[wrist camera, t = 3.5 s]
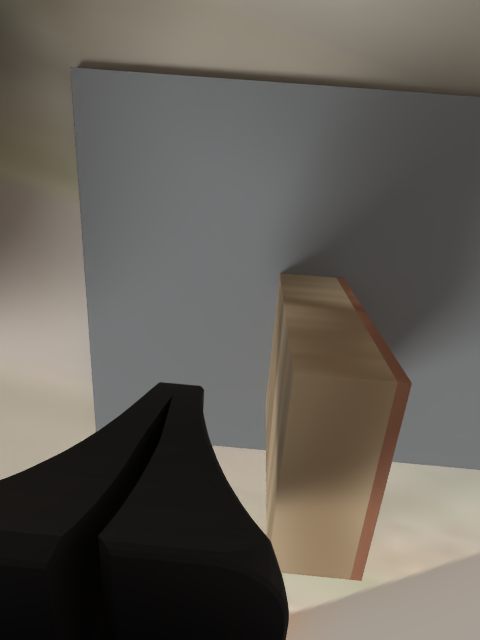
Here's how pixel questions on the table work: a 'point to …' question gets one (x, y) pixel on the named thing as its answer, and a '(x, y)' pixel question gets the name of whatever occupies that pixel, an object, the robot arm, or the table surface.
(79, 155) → the rubber mat
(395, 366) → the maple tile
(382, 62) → the table surface
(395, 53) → the table surface
